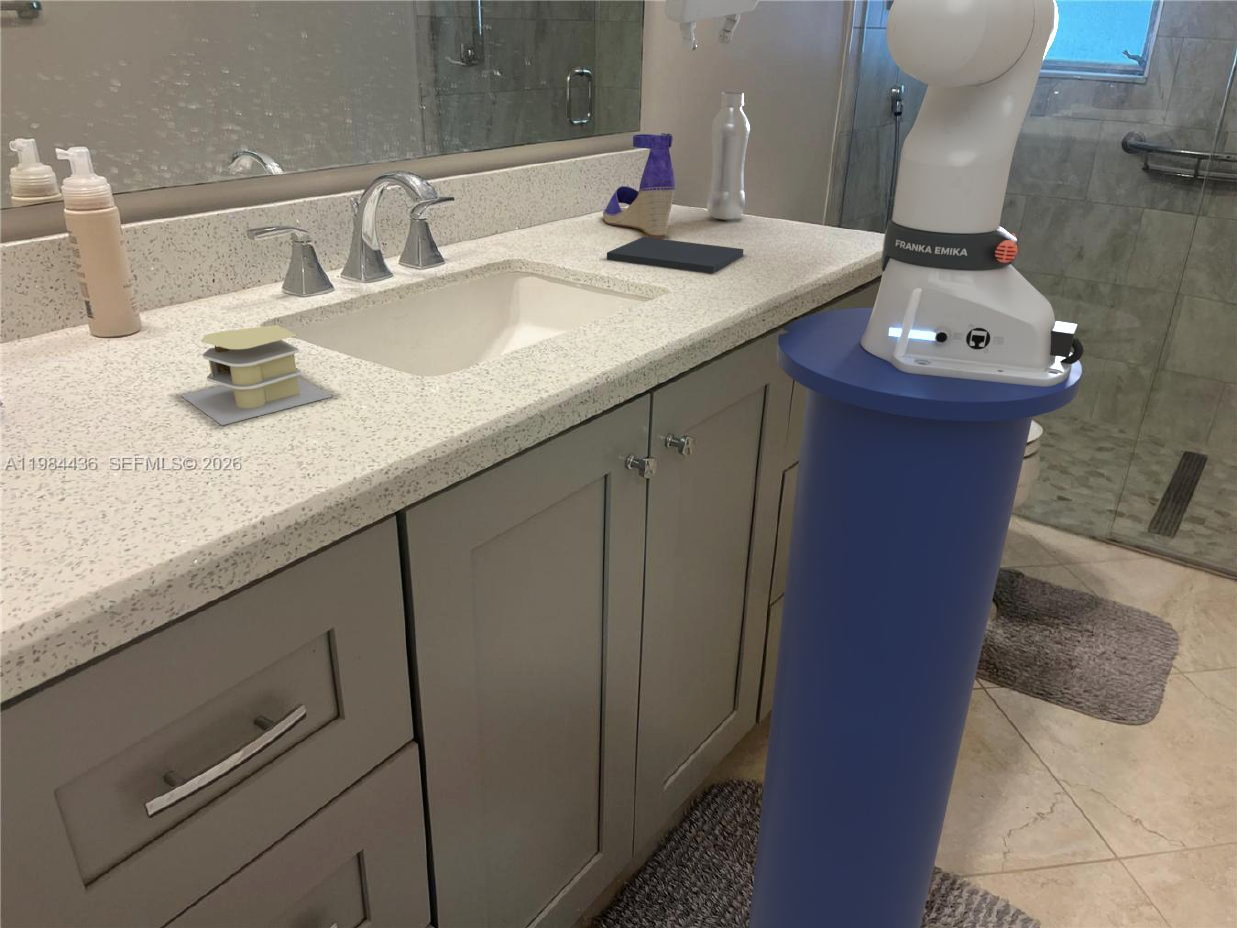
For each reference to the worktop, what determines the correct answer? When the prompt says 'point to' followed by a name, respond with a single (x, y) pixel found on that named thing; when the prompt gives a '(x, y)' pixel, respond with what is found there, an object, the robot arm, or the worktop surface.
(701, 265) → the dark rectangular flat slab
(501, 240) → the worktop surface
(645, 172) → the sandal
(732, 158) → the plastic bottle
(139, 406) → the worktop surface
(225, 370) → the stacked layers on plate
